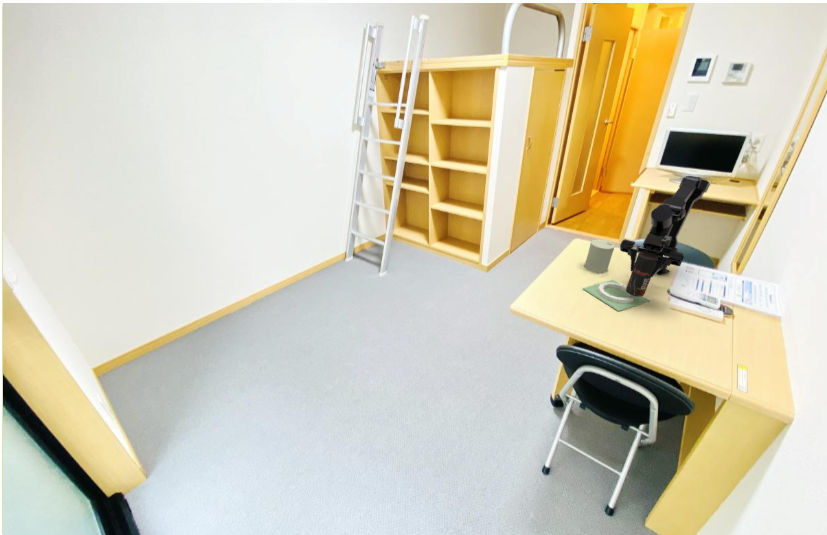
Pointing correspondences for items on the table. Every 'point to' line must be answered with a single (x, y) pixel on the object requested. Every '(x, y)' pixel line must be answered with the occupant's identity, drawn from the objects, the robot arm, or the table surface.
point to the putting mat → (615, 295)
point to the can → (599, 256)
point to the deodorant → (641, 273)
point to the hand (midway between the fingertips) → (641, 273)
